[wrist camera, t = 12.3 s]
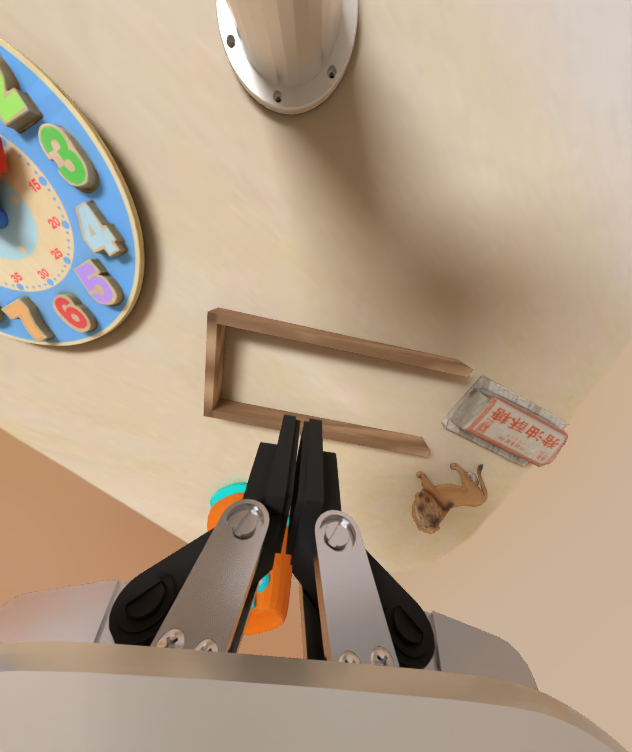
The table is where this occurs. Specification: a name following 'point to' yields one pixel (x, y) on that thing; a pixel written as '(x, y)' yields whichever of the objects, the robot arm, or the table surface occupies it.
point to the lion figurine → (446, 498)
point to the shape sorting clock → (60, 216)
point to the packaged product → (507, 424)
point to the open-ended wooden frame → (274, 417)
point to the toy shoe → (274, 585)
